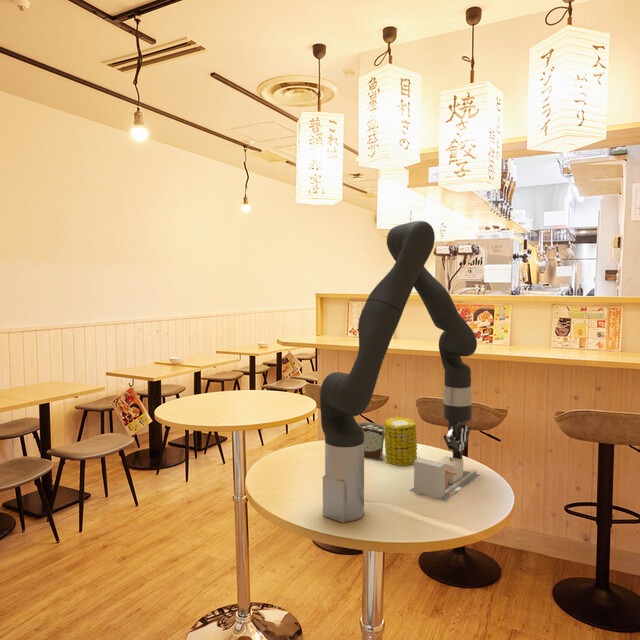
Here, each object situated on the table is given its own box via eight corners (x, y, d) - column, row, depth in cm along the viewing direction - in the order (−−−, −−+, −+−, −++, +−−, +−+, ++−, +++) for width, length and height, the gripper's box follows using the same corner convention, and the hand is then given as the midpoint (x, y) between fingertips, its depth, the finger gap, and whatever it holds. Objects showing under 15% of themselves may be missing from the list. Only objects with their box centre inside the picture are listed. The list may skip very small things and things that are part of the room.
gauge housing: (448, 488, 126) (448, 468, 126) (431, 483, 129) (431, 463, 129) (463, 477, 133) (463, 458, 133) (446, 473, 136) (446, 454, 136)
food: (420, 468, 150) (405, 480, 142) (387, 452, 156) (371, 462, 148) (430, 422, 146) (415, 432, 138) (396, 408, 153) (379, 416, 145)
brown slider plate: (455, 491, 124) (455, 472, 123) (429, 485, 128) (430, 466, 128) (457, 490, 125) (457, 471, 124) (432, 483, 129) (432, 465, 129)
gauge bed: (445, 506, 119) (445, 468, 119) (408, 496, 125) (409, 459, 125) (480, 479, 136) (480, 446, 135) (446, 471, 142) (446, 439, 142)
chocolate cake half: (392, 456, 156) (392, 425, 156) (384, 462, 151) (384, 430, 150) (358, 449, 163) (358, 420, 162) (349, 455, 157) (349, 424, 157)
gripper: (460, 408, 127) (460, 473, 129) (480, 399, 138) (480, 459, 139) (434, 404, 132) (434, 467, 133) (455, 395, 142) (455, 454, 143)
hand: (457, 463), depth 136 cm, fingers closed
